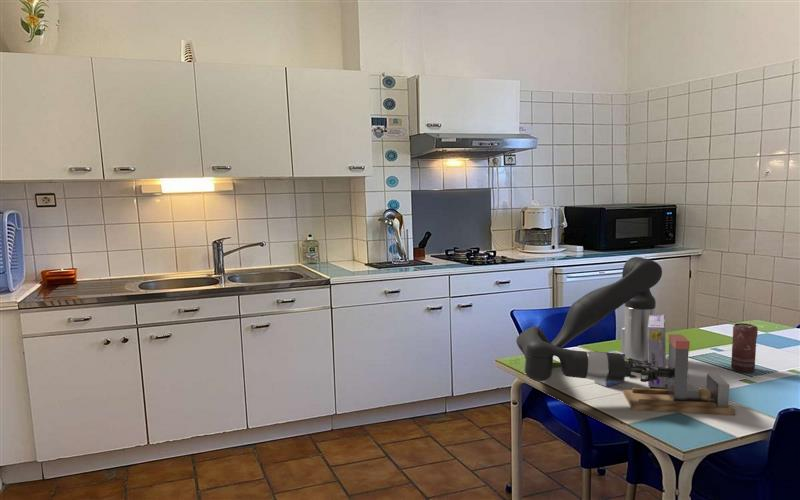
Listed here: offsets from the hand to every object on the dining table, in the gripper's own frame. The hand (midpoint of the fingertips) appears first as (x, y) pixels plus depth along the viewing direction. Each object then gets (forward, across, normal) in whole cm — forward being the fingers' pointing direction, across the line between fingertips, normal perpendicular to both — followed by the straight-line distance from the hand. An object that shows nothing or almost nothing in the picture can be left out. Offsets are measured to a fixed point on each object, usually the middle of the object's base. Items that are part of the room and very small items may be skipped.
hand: (671, 373), depth 143 cm
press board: (+2, -1, -8) cm, 9 cm away
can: (+32, -29, -6) cm, 44 cm away
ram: (+4, -1, -7) cm, 7 cm away
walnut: (+9, 0, -7) cm, 11 cm away
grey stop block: (+12, 0, -6) cm, 14 cm away
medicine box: (-11, -16, -9) cm, 21 cm away
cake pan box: (+4, -21, -8) cm, 23 cm away
